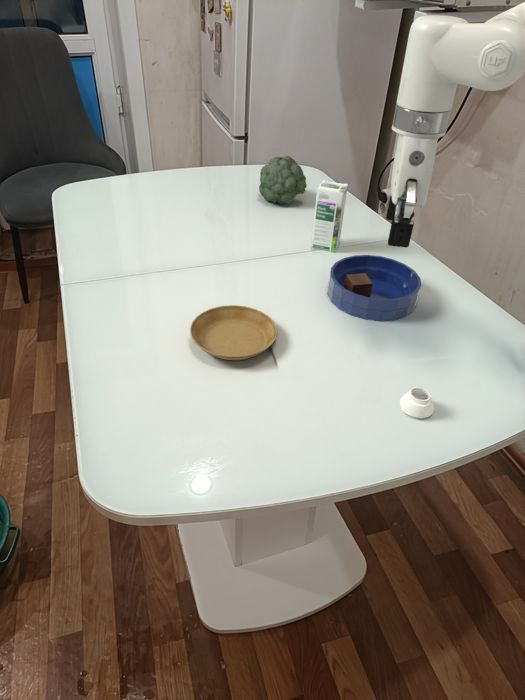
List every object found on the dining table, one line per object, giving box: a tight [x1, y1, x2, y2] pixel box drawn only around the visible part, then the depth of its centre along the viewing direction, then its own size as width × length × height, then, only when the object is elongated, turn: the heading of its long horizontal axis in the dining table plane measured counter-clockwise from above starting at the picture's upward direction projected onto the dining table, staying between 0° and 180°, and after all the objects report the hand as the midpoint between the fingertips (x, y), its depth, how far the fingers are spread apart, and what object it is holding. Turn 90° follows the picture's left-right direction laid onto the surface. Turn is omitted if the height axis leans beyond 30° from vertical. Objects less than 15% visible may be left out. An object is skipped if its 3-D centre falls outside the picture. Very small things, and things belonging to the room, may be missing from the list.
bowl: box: [327, 254, 422, 322], centre depth 99 cm, size 17×17×5 cm
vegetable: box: [258, 155, 308, 205], centre depth 136 cm, size 12×13×15 cm
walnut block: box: [344, 273, 373, 298], centre depth 99 cm, size 4×4×4 cm
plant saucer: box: [189, 304, 278, 361], centre depth 87 cm, size 15×15×3 cm
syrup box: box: [310, 180, 349, 254], centre depth 113 cm, size 6×6×14 cm
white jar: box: [399, 386, 435, 419], centre depth 76 cm, size 5×3×5 cm
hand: (396, 232), depth 83 cm, fingers open, 9 cm apart
